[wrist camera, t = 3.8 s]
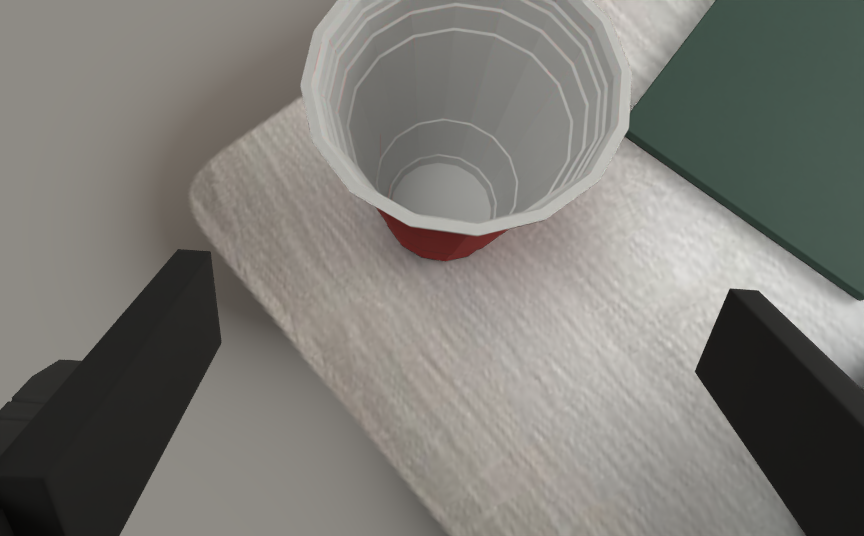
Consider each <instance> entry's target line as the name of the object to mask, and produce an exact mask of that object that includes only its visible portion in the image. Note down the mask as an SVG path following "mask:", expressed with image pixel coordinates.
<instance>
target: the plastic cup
mask: <svg viewBox="0 0 864 536" xmlns="http://www.w3.org/2000/svg"><path fill="white" fill-rule="evenodd" d="M631 82H632V70H631V67H630V65H629V62H628V60H627V57H626V55H625V52H624V50H623V47H622V45H621V42H620V40H619V37H618V35H617V32H616V30H615V27H614V25H613V22H612V20H611V18H610V17H609V16H608V15H607V14H606V13H605V12H604V11H603V10H602V9H601V8H600V7H599V6H598V5H597V4H596V3H595V2H594V1H593V0H337V2H336V3H335V4H334V5H333V7H332V8H331V9H330V11H329V12H328V13H327V14H326V16H325V17H324V18H323V20H322V21H321V22H320V23H319V25H318V26H317V27H316V29H315V30H314V32H313V36H312V40H311V44H310V48H309V52H308V56H307V60H306V64H305V68H304V72H303V77H302V81H301V85H300V86H301V90H302V96H303V100H304V105H305V110H306V115H307V119H308V124H309V129H310V134H311V138H312V142H313V144H314V145H315V146H316V148H317V149H318V150H319V152H320V153H321V154H322V156H323V157H324V158H325V160H326V161H327V162H328V164H329V165H330V166H331V168H332V169H333V170H334V172H335V173H336V174H337V175H338V177H339V178H340V179H341V181H342V182H343V183H344V185H345V186H346V187H347V189H348V190H349V191H350V192H351V193H352V194H354V195H356V196H358V197H359V198H361V199H363V200H365V201H366V202H368V203H370V204H372V205H373V206H375V207H376V208H377V210H378V211H379V213H380V214H381V216H382V217H383V218H384V220H385V221H386V223H387V225H388V227H389V229H390V230H391V231H392V233H393V234H394V235H395V237H396V238H397V239H398V241H399V242H400V243H401V245H402V246H404V247H406V248H407V249H409V250H411V251H412V252H414V253H416V254H417V255H419V256H421V257H423V258H429V259H435V260H441V261H448V260H453V259H457V258H462V257H467V256H469V255H470V254H472V253H473V252H474V251H476V250H478V249H481V248H483V247H484V246H485V245H487V244H488V243H490V242H491V241H493V240H494V239H495V238H497V237H498V236H500V235H501V234H503V233H504V232H505V231H507V230H508V229H510V228H515V227H519V226H523V225H527V224H532V223H536V222H540V221H543V220H546V219H547V218H549V217H550V216H552V215H553V214H554V213H556V212H557V211H558V210H560V209H561V208H563V207H564V206H565V205H567V204H568V203H570V202H571V201H572V200H574V199H575V198H576V197H578V196H579V195H581V194H582V193H583V192H585V191H586V190H587V189H589V188H590V187H592V186H593V185H594V184H596V183H597V182H598V181H599V180H600V179H601V177H602V175H603V173H604V172H605V170H606V168H607V166H608V164H609V163H610V161H611V159H612V157H613V156H614V154H615V152H616V150H617V148H618V147H619V145H620V143H621V141H622V140H623V138H624V136H625V134H626V132H627V131H628V129H629V117H630V99H631Z"/></svg>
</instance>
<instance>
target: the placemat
mask: <svg viewBox="0 0 864 536" xmlns="http://www.w3.org/2000/svg"><path fill="white" fill-rule="evenodd" d="M625 136H626V137H627V138H628V139H630V140H631V141H633V142H634V143H636V144H637V145H638V146H640V147H641V148H643V149H644V150H645V151H647V152H648V153H650V154H651V155H653V156H654V157H655V158H657V159H658V160H660V161H661V162H663V163H664V164H665V165H667V166H668V167H670V168H671V169H673V170H674V171H675V172H677V173H678V174H680V175H681V176H682V177H684V178H685V179H687V180H688V181H690V182H691V183H692V184H694V185H695V186H697V187H698V188H700V189H701V190H702V191H704V192H705V193H707V194H708V195H710V196H711V197H712V198H714V199H715V200H717V201H718V202H719V203H721V204H722V205H724V206H725V207H727V208H728V209H729V210H731V211H732V212H734V213H735V214H737V215H738V216H739V217H741V218H742V219H744V220H745V221H746V222H748V223H749V224H751V225H752V226H754V227H755V228H756V229H758V230H759V231H761V232H762V233H764V234H765V235H766V236H768V237H769V238H771V239H772V240H774V241H775V242H776V243H778V244H779V245H781V246H782V247H783V248H785V249H786V250H788V251H789V252H791V253H792V254H793V255H795V256H796V257H798V258H799V259H801V260H802V261H803V262H805V263H806V264H808V265H809V266H810V267H812V268H813V269H815V270H816V271H818V272H819V273H820V274H822V275H823V276H825V277H826V278H828V279H829V280H830V281H832V282H833V283H835V284H836V285H838V286H839V287H840V288H842V289H843V290H845V291H846V292H847V293H849V294H850V295H852V296H853V297H855V298H856V299H857V300H859V301H860V300H864V0H716V1H715V2H714V3H713V5H712V6H711V7H710V9H709V10H708V11H707V13H706V14H705V15H704V17H703V18H702V19H701V20H700V22H699V23H698V24H697V26H696V27H695V28H694V30H693V31H692V32H691V34H690V35H689V36H688V37H687V39H686V40H685V41H684V43H683V44H682V45H681V47H680V48H679V49H678V51H677V52H676V53H675V54H674V56H673V57H672V58H671V60H670V61H669V62H668V64H667V65H666V66H665V68H664V69H663V70H662V71H661V73H660V74H659V75H658V77H657V78H656V79H655V81H654V82H653V83H652V85H651V86H650V87H649V88H648V90H647V91H646V92H645V94H644V95H643V96H642V98H641V99H640V100H639V102H638V103H637V104H636V105H635V107H634V108H633V109H632V111H631V112H630V117H629V129H628V131H627V132H626V134H625Z"/></svg>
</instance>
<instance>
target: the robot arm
mask: <svg viewBox="0 0 864 536" xmlns="http://www.w3.org/2000/svg"><path fill="white" fill-rule="evenodd" d="M220 345H221V335H220V327H219V318H218V310H217V303H216V293H215V286H214V277H213V269H212V260H211V252H209V251H195V250H181V249H178V250H177V251H176V252H175V254H174V255H173V256H172V257H171V258H170V259H169V260H168V262H167V263H166V264H165V265H164V266H163V267H162V269H161V270H160V271H159V272H158V273H157V274H156V276H155V277H154V278H153V279H152V280H151V281H150V283H149V284H148V285H147V286H146V287H145V288H144V290H143V291H142V292H141V293H140V294H139V295H138V297H137V298H136V299H135V300H134V301H133V303H131V305H130V306H129V307H128V308H127V309H126V310H125V312H124V313H123V314H122V315H121V316H120V317H119V319H118V320H117V321H116V322H115V323H114V324H113V326H112V327H111V328H110V329H109V330H108V331H107V333H106V334H105V335H104V336H103V337H102V338H101V340H100V341H99V342H98V343H97V344H96V345H95V347H94V348H93V349H92V350H91V351H90V352H89V354H88V355H87V356H86V357H85V358H84V359H83V360H82V361H74V360H58V361H57V362H55V363H54V364H52V365H50V366H49V367H47V368H45V369H44V370H42V371H40V372H39V373H37V374H36V375H34V376H32V377H31V378H30V379H29V380H28V381H27V383H26V384H24V386H23V387H22V388H21V389H20V390H19V391H18V392H17V393H16V394H15V395H14V396H13V397H12V401H11V402H7V403H6V404H5V406H4V407H3V408H2V409H1V410H0V536H119V535H120V533H121V531H122V530H123V528H124V526H125V524H126V522H127V520H128V518H129V516H130V514H131V513H132V511H133V509H134V507H135V505H136V503H137V501H138V499H139V497H140V496H141V494H142V492H143V490H144V488H145V486H146V484H147V482H148V480H149V479H150V477H151V475H152V473H153V471H154V469H155V467H156V465H157V463H158V462H159V460H160V458H161V456H162V454H163V452H164V450H165V448H166V447H167V445H168V442H169V441H170V439H171V437H172V435H173V433H174V431H175V429H176V428H177V426H178V424H179V422H180V420H181V418H182V416H183V414H184V413H185V410H186V409H187V407H188V405H189V403H190V401H191V399H192V397H193V396H194V393H195V392H196V390H197V388H198V386H199V384H200V382H201V380H202V379H203V377H204V375H205V373H206V371H207V369H208V367H209V365H210V363H211V362H212V360H213V358H214V356H215V354H216V352H217V350H218V348H219V346H220ZM695 373H696V374H697V376H698V377H699V379H700V380H701V382H702V383H703V385H704V386H705V387H706V389H707V390H708V392H709V393H710V395H711V396H712V398H713V399H714V401H715V402H716V404H717V405H718V407H719V408H720V410H721V411H722V412H723V414H724V415H725V417H726V418H727V420H728V421H729V423H730V424H731V426H732V427H733V429H734V430H735V432H736V433H737V435H738V436H739V437H740V439H741V440H742V442H743V443H744V445H745V446H746V448H747V449H748V451H749V452H750V454H751V455H752V457H753V458H754V459H755V461H756V462H757V464H758V465H759V467H760V468H761V470H762V471H763V473H764V474H765V476H766V477H767V479H768V480H769V482H770V483H771V484H772V486H773V487H774V489H775V490H776V492H777V493H778V495H779V496H780V498H781V499H782V501H783V502H784V504H785V505H786V506H787V508H788V509H789V511H790V512H791V514H792V515H793V517H794V518H795V520H796V521H797V523H798V524H799V526H800V527H801V529H802V530H803V531H804V533H805V534H806V536H864V391H863V390H862V389H861V388H860V387H859V386H858V385H857V384H856V383H855V382H854V381H852V380H851V379H850V378H849V377H848V376H847V375H846V374H845V373H844V372H843V371H842V370H841V369H840V368H839V367H838V366H837V365H836V364H835V363H834V362H833V361H832V360H830V359H829V358H828V357H827V356H826V355H825V354H824V353H823V352H822V351H821V350H820V349H819V348H818V347H817V346H816V345H815V344H814V343H813V342H812V341H811V340H809V339H808V338H807V337H806V336H805V335H804V334H803V333H802V332H801V331H800V330H799V329H798V328H797V327H796V326H795V325H794V324H793V323H792V322H791V321H790V320H789V319H787V318H786V317H785V316H784V315H783V314H782V313H781V312H780V311H779V310H778V309H777V308H776V307H775V306H774V305H773V304H772V303H771V302H770V301H769V300H768V299H767V298H765V297H764V296H763V295H762V294H761V293H760V292H759V291H757V290H743V289H729V292H728V294H727V296H726V299H725V301H724V303H723V306H722V308H721V311H720V313H719V315H718V318H717V320H716V322H715V325H714V327H713V329H712V332H711V334H710V337H709V339H708V341H707V344H706V346H705V348H704V351H703V353H702V355H701V358H700V360H699V363H698V365H697V367H696V370H695Z"/></svg>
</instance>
